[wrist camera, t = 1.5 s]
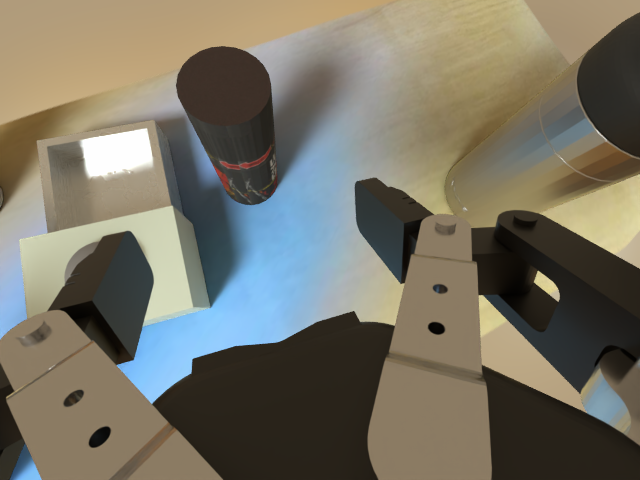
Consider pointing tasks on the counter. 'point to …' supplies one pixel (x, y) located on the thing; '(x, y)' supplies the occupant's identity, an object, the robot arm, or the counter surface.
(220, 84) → the deodorant
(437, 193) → the counter surface
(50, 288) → the cream rectangular block
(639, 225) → the counter surface
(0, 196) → the lotion bottle
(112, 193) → the white open box
